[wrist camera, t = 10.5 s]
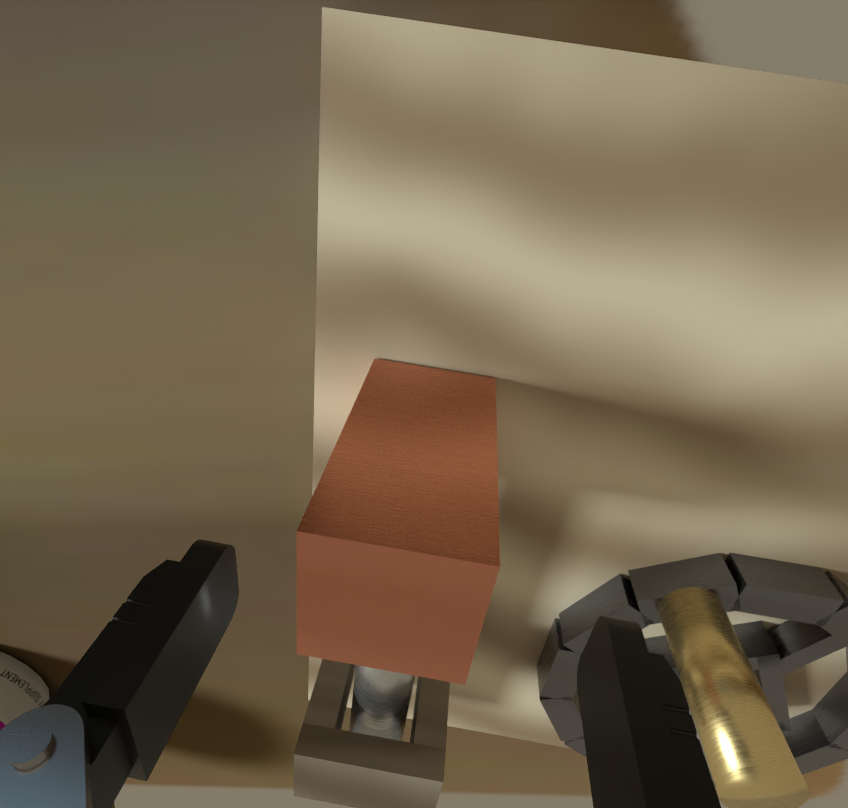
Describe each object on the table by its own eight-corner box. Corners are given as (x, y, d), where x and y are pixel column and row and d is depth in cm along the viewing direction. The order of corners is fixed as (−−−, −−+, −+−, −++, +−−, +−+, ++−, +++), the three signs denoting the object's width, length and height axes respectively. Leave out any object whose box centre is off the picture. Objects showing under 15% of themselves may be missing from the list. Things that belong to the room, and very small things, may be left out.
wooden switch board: (338, 16, 14) (171, -79, 6) (1275, 152, 13) (2241, 214, 6) (316, 673, 29) (260, 859, 22) (743, 751, 28) (828, 969, 21)
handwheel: (497, 590, 22) (501, 794, 15) (883, 515, 18) (1106, 748, 11) (584, 763, 28) (613, 962, 21) (886, 737, 24) (1032, 970, 17)
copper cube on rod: (374, 358, 17) (296, 531, 10) (495, 378, 17) (499, 566, 10) (346, 676, 26) (296, 878, 19) (424, 690, 26) (401, 898, 19)
